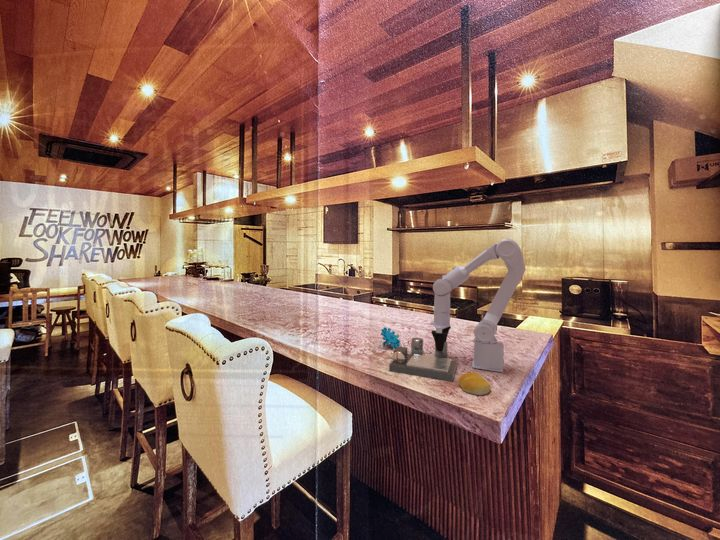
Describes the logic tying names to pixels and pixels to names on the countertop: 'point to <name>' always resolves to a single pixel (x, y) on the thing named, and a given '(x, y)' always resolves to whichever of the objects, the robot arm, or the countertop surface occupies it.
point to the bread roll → (474, 384)
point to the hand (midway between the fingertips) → (440, 347)
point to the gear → (390, 337)
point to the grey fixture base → (422, 365)
